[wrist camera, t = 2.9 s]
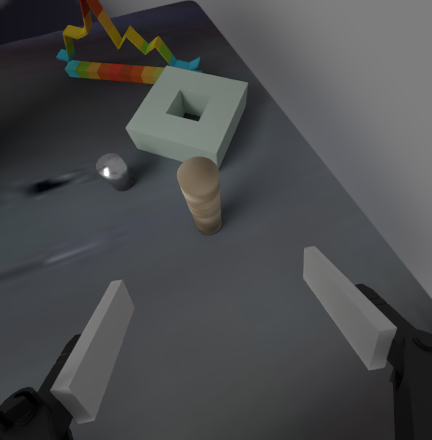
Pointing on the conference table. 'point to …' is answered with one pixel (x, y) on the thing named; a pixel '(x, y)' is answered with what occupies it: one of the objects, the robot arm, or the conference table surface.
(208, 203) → the tall beech pin
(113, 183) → the short metal pin
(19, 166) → the conference table surface
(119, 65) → the chart
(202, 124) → the hole block
